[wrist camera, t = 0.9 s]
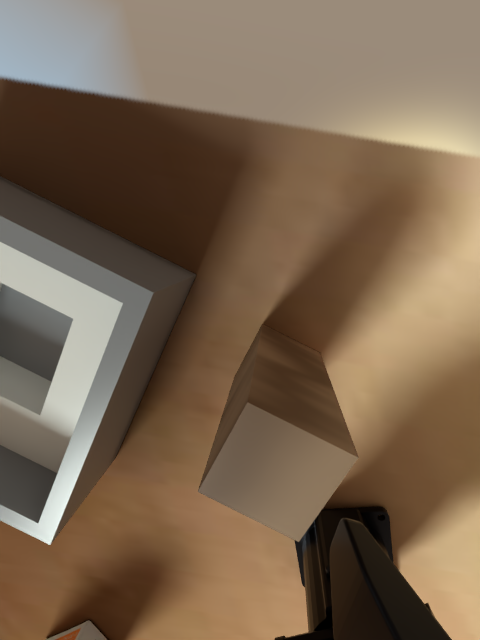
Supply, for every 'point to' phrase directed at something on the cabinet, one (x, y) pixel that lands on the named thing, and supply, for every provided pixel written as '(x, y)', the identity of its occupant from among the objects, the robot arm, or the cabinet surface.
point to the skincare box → (80, 633)
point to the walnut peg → (279, 438)
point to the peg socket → (71, 352)
